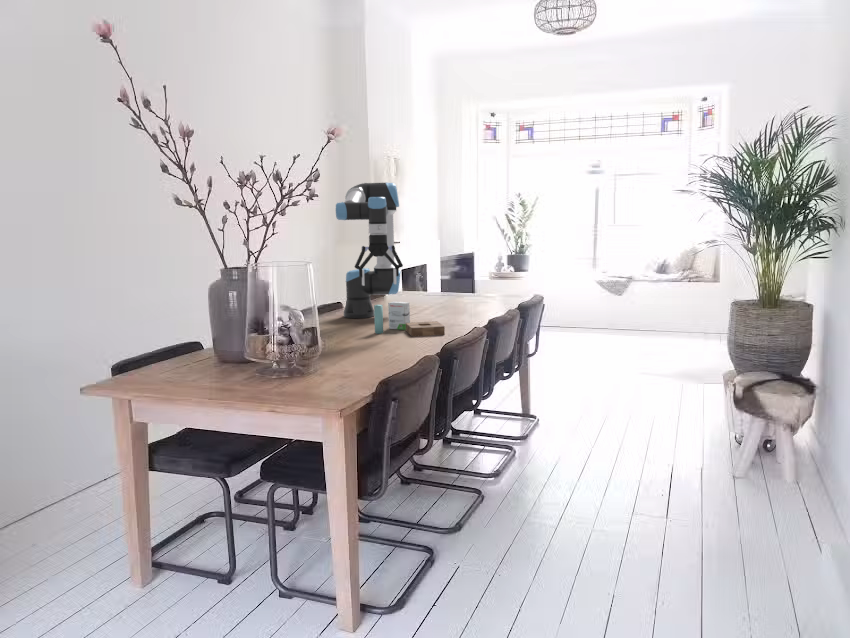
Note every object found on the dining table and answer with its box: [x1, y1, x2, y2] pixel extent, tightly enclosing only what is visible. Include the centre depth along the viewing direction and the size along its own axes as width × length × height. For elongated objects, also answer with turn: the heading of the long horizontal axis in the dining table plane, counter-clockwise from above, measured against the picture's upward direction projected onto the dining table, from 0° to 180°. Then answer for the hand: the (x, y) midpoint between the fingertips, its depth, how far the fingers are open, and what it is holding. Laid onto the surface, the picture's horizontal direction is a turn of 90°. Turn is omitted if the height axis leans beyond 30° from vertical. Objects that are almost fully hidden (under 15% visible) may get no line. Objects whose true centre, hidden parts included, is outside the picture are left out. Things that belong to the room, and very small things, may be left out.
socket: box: [405, 320, 446, 337], centre depth 301 cm, size 14×14×4 cm
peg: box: [373, 304, 384, 335], centre depth 301 cm, size 4×4×12 cm
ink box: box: [387, 301, 411, 331], centre depth 311 cm, size 9×5×12 cm, turn 60°
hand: (379, 284), depth 299 cm, fingers open, 13 cm apart
